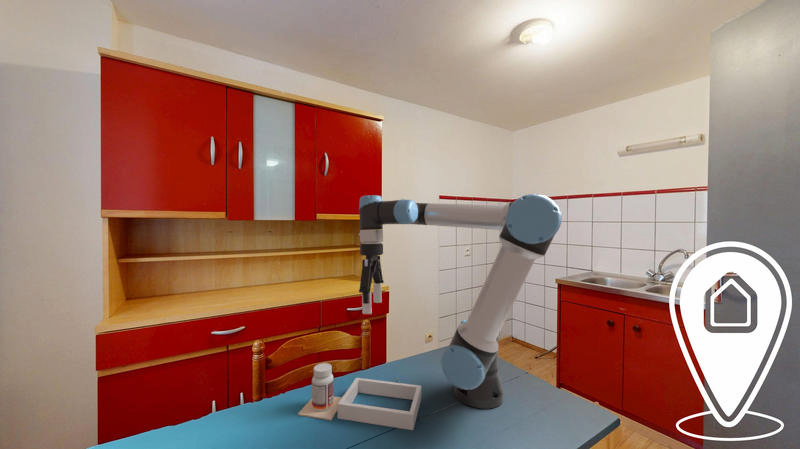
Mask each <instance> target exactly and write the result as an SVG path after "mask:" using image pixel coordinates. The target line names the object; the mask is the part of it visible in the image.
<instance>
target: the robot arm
mask: <svg viewBox="0 0 800 449" xmlns="http://www.w3.org/2000/svg"><path fill="white" fill-rule="evenodd" d="M358 211H359V214H358V215H359V233H358V236H359V242H360V245H359V254H360V255H361V256H365V259H362V261H361V262H362V263H361V265H362V268H361V274H360V284H359V289H358V292H359V293H361V304H362V305H361V308H362V310H361V311H362V313H361V314H363V315H372V313H373V312H372V292H373V303H374V304H375V303H376V304H380V303H381V304H382V301H383V300H382V298H383V297H382V284H384V283H385V282H384V280H385V279H384V278H383V272H382V265H381V255H383V254H384V244H383V241H384V230H383V228H384V227H383V226H384V225H417V226H419V225H420V226H421V225H422V226H438V227H441V226H442V227H451V228H467V229H481V230H495V231H496V230H498V231H501V232H500V234H499V236H498V238H499V241H500V243H501V246H500V248H499V251H498V253H497V255H496V257H495V259H494V261H493V264H492V266H491V268H490V270H489V273H488V275H487V276H486V278H485V281H484V283H483V285H482V287H481V290H480V292H479V294H478V297H477V298H476V300H475V303H474V305H473V307H472V309H471V312H470V314H469V316H468V317H467V319H463V320H461V321H460V324H459V325H457V328H456V330H455V331H454V332H455V333H454V335H453V337H451V340H450V343H449V345H448V346H447V347H446V348H444V350H443V352H442V355H441V358H440V367H441V370H442V371H443V375H444V376H445V378H446V379H447V380H448V381H449V382H450V384H452V385H453V388H454V395H455V397H456V399H458V401H460V402H462V403H463V404H464V405H466V406H469V407H471V408H475V409H476V408H477V409H482V410H483V409H486V410H487V409H493V408H494V409H495V408H498V407H499V406H501V405H502V404H503V402H504V401H505V400H504V399H505V398H504V397H505V392H504V388H503V384H502V381H501V378H500V375H499V336H500V333H501V330H502V328H503V326H504V324H505V322H506V320H507V317H508V316H509V313H510V311H511V310H512V309H513V305H514V304H515V302H516V299H517V298H518V296H519V293H520V291H521V288H522V287H523V285H524V283H525V281H526V279H527V277H528V275H529V273H530V271H531V269H532V266H533V265H534V263H535V261H536V260H537V259H539V258H543V257H545V255H546V253H547V251H548V250H549V247H550V245H551V244H552V242H553V240H554V237H555V235H556V234H557V233H558V231H559V229H560V227H561V226H562V225H561V224H562V212H561V209H560V206H559V205H558V204H557V202H555V201H554V200H553V199H552V198H550V197H548V196H547V195H543V194H539V193H530V194H525V195H522V196H520V197H519V198H517V199H515V200H514V201H509V202H507V204H504V205H503V204H502V205H501V204H468V203H467V204H465V203H463V204H462V203H430V202H429V203H428V202H425V203H424V202H415V200H413V199H405V198H404V199H403V198H401V199H397V200H396V199H395V200H385V201H384V200H383V197H382V196H381V195H377V194H375V195H373V194H372V195H362V196H361V197H360V198H359V207H358ZM372 282H373V284H372ZM372 288H373V290H372V292H371V289H372Z"/></svg>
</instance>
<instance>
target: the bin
mask: <svg viewBox="0 0 800 449" xmlns="http://www.w3.org/2000/svg"><path fill="white" fill-rule="evenodd" d="M359 393H361V394H367V395H375V396H379V397H380V396H382V397H389V398H396V399H403V400H404V399H405V400H412V402H411V406H410V409H409V411H408V410H402V409H395V408H387V407H382V406H381V407H380V406H374V405H368V404H367V405H366V404H361V403H360V404H359V403H353V402H354V400H355V398H357V396H358V394H359ZM341 398H342V399H341V400H340V401H339V403H338V411H337V419H338V420H339V419H340V420H345V421H353V422H359V423H365V424H371V425H377V426H383V427H388V428H389V427H390V428H396V429H402V430H407V431H409V430H410V431H414V428H415V425H416V421H417V417H418V414H419V413H418V412H419V408H420V404H421V400H422V385H418V384H410V383H401V382H394V381H385V380H377V379H370V378H364V377H363V378H361V377H356V378H355V379H354V380H353V382H352V383H351V385H350V386H349V387H348V389H347V390H346V391H345V393H344V394H343V396H342V397H341Z"/></svg>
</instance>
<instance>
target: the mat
mask: <svg viewBox="0 0 800 449" xmlns="http://www.w3.org/2000/svg"><path fill="white" fill-rule="evenodd" d="M341 399H342V397H340V396H334V402H333V405H332V407H331V408H330V409H328V410H325V411H316V410H314V409H313V407H312V397H311V399H309V401H308V402H307V403H306V404H305V405H304V406H303V407H302V408H301V410H300V411H299V412H298V413H297V415H298V416H301V417H307V418H308V417H309V418H313V419H314V418H315V419H319V420H326V421H332V420H333V418H334V417H335V415H336V413H338V403H339V401H340V400H341Z"/></svg>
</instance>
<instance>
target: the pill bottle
mask: <svg viewBox="0 0 800 449" xmlns="http://www.w3.org/2000/svg"><path fill="white" fill-rule="evenodd" d="M332 366H333V365H331V363H327V362H323V363H322V362H321V363H319V364H316V365H315V366H314V367H313V376H312V379H311V398H312V407H313V409H314V410H316V411H325V410H328V409H330V408H331V407H332V405H333V402H334V397H335V395H334V389H335V387H334V382H335V380H334V375H333V373H332V371H333V370H332V368H333V367H332Z"/></svg>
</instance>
